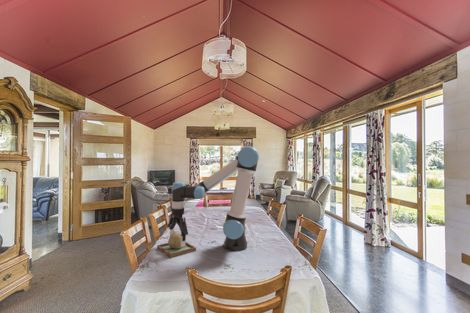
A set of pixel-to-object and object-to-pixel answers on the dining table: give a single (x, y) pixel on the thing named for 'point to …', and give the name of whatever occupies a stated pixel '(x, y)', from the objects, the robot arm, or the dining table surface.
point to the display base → (176, 250)
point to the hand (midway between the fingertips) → (177, 242)
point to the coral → (175, 241)
